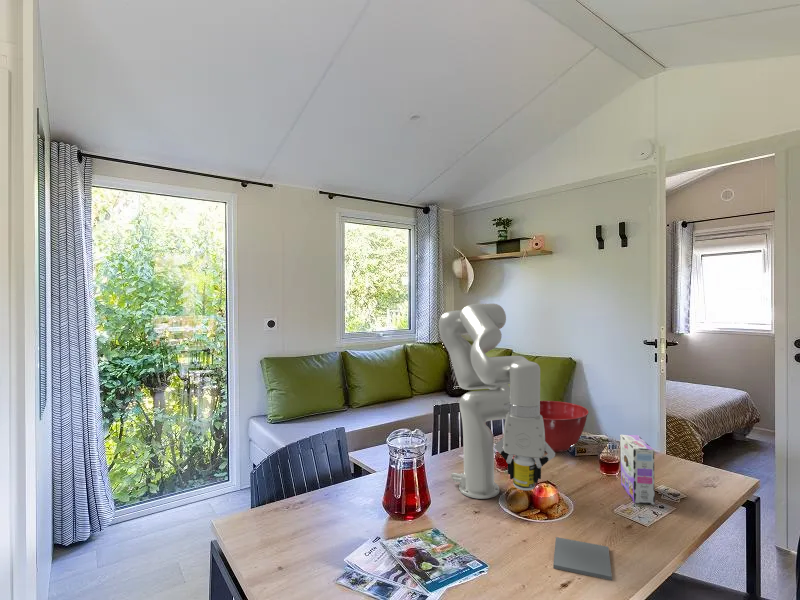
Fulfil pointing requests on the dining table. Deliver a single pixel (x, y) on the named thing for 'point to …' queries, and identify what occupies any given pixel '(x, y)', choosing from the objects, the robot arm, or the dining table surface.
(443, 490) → the dining table surface
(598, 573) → the slate coaster
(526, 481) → the supplement bottle
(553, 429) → the mixing bowl
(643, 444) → the candy box
